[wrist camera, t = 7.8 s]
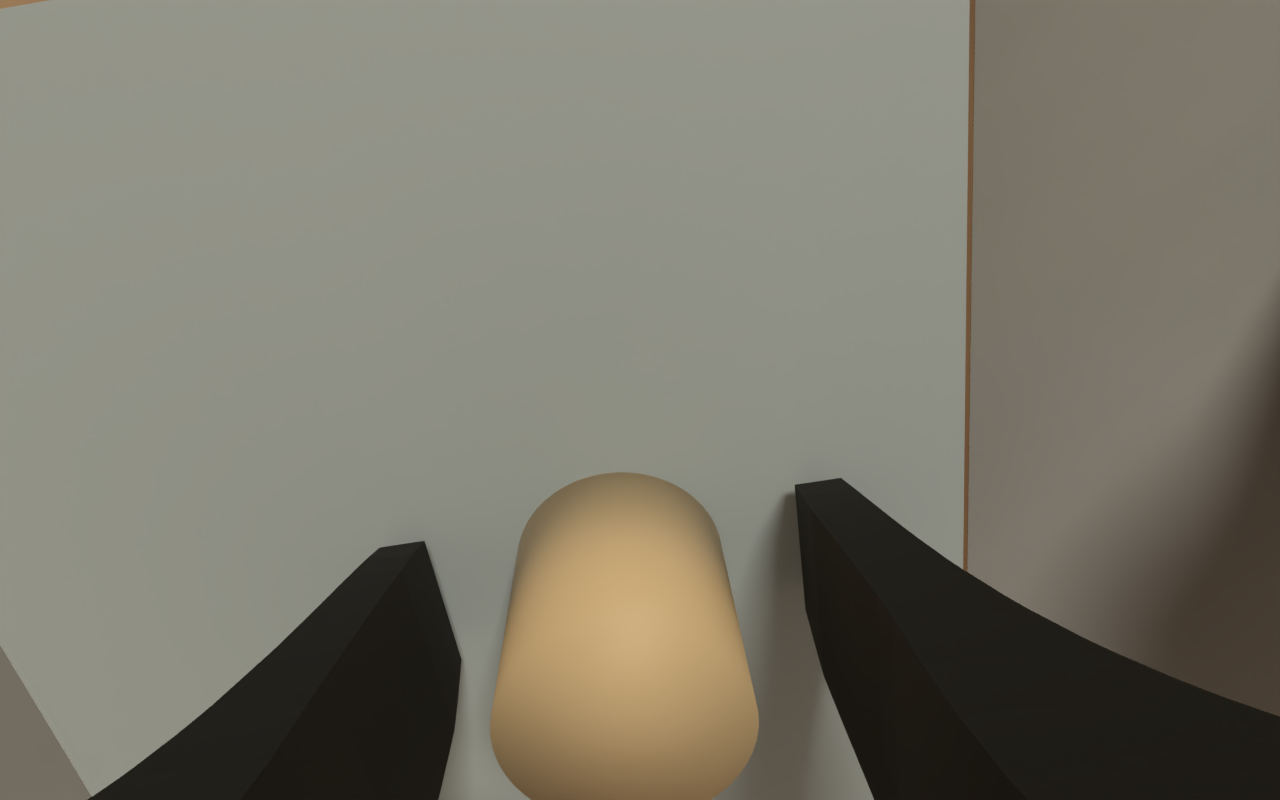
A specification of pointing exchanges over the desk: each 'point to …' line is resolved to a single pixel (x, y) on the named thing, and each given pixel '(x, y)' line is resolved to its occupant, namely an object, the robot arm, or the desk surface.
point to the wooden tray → (11, 0)
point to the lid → (475, 358)
